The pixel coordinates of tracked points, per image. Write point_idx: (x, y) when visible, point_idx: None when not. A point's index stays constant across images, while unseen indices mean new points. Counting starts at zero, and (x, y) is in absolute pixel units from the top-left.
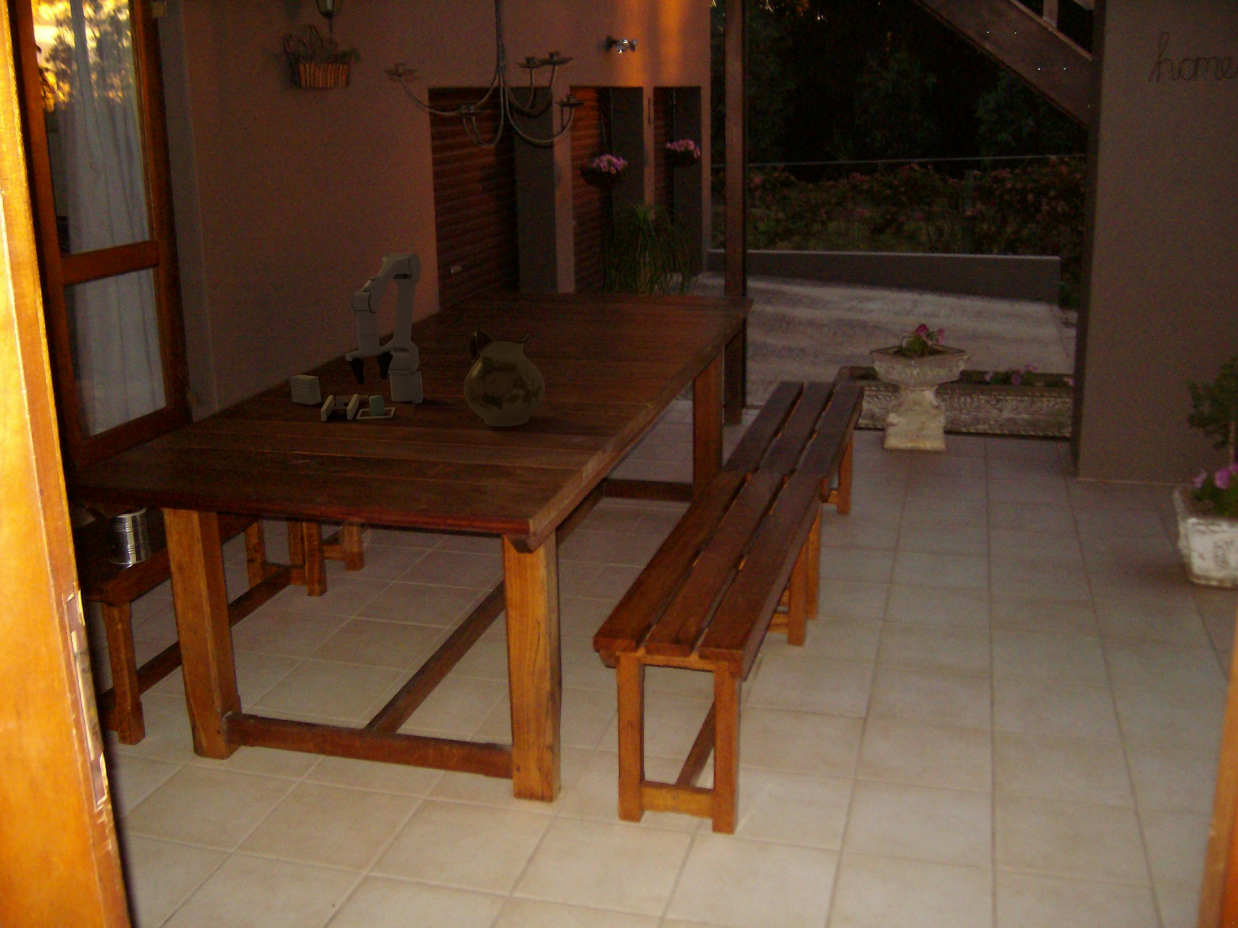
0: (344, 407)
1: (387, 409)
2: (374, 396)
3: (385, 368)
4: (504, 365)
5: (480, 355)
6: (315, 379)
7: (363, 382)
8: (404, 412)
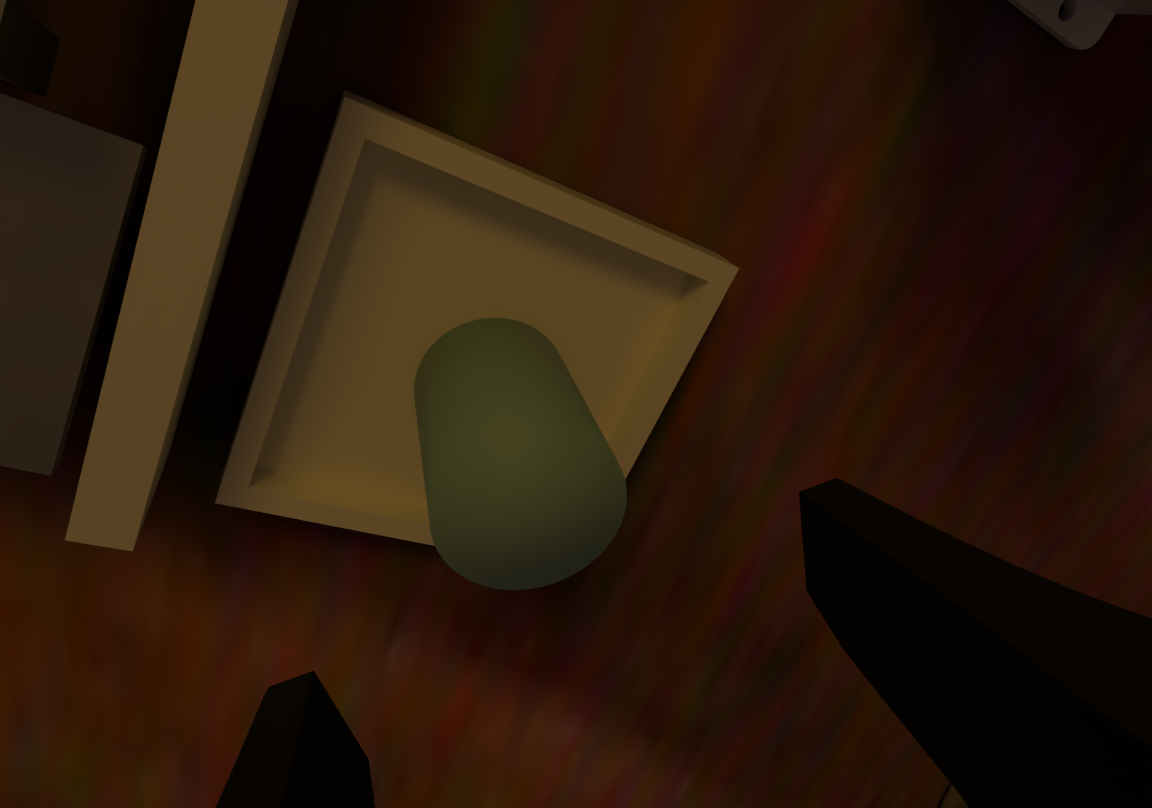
0: (33, 467)
1: (652, 257)
2: (525, 477)
3: (969, 800)
4: None
5: None
6: None
7: (365, 805)
8: (773, 311)
